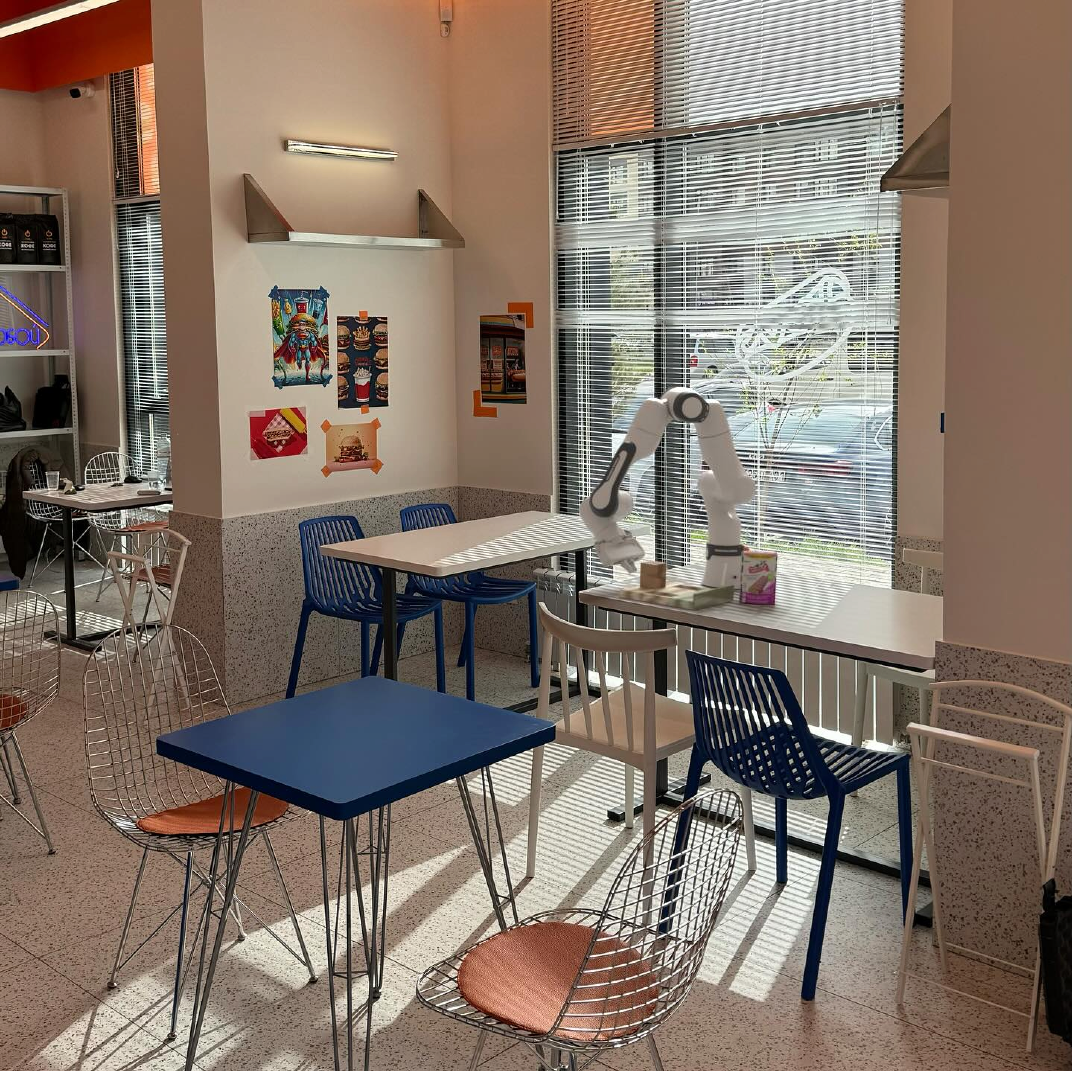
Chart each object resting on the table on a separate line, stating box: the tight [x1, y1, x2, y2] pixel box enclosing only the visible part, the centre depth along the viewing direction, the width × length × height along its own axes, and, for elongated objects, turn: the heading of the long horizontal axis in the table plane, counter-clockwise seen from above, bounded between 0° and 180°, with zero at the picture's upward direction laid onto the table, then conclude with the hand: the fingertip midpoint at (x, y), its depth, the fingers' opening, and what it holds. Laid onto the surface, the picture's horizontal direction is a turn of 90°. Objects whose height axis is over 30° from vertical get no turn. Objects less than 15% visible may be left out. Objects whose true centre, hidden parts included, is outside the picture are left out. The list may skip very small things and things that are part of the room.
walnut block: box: [639, 560, 667, 589], centre depth 406 cm, size 6×6×8 cm
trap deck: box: [619, 581, 735, 611], centre depth 400 cm, size 29×22×5 cm
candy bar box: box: [738, 550, 779, 606], centre depth 394 cm, size 11×5×16 cm, turn 84°
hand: (633, 572), depth 411 cm, fingers closed
